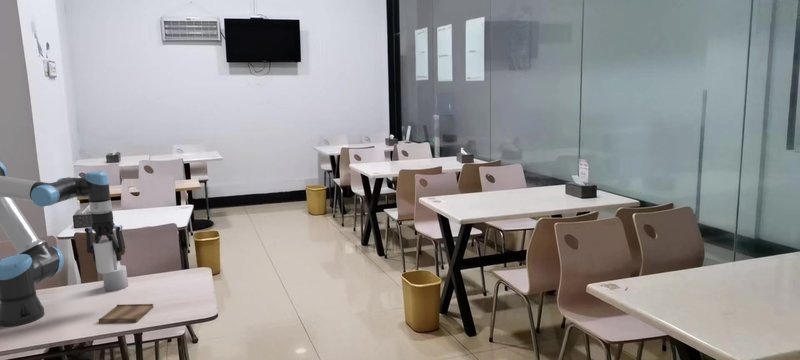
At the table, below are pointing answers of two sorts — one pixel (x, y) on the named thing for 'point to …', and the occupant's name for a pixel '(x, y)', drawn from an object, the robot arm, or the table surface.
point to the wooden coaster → (126, 313)
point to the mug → (104, 256)
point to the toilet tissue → (116, 279)
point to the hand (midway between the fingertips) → (108, 269)
